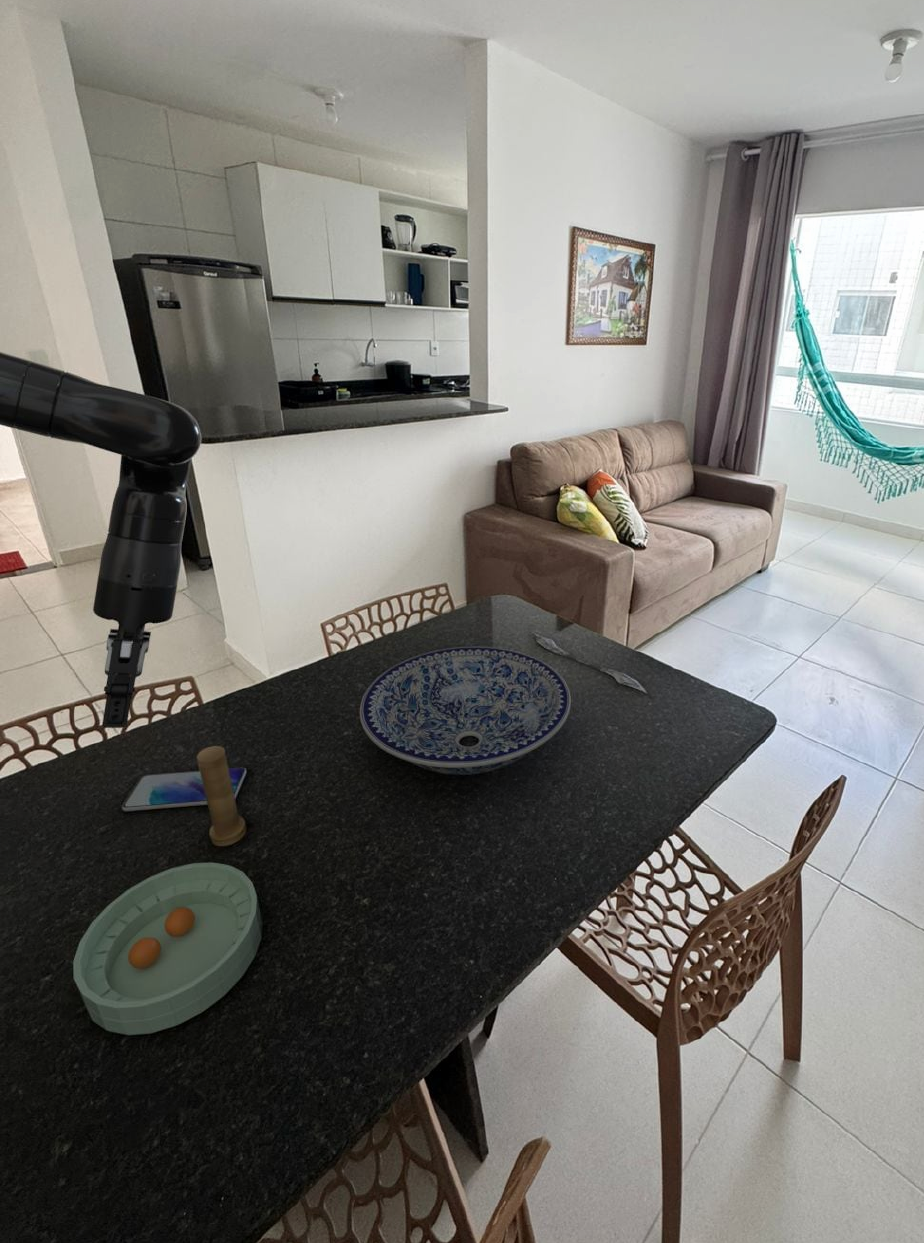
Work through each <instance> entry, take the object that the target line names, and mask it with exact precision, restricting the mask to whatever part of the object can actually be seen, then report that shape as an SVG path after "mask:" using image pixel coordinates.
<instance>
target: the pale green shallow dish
mask: <svg viewBox="0 0 924 1243" xmlns="http://www.w3.org/2000/svg"><path fill="white" fill-rule="evenodd" d="M180 907H187V908H189V909H191V910H192V911H193V913H194V915H195V921H194V924H193V926H192V928H191V929H190V930H189V931H188V932H187V933H185V934H184V935H181V936H171V935H169V934H168V933H167V932H166V930H165V920H166V918H167V916H168V915H169V914H170V913H171V912H172V911H173V910H175V909H177V908H180ZM262 932H263V919H262V914H261V909H260V903H259V899H258V894H257V891H256V889H255V886H254V882H253V881H251V879H250V878H249V876H247V875H246V873H245V872H244V871H242V870H240V869H238V868H236V867H234V866H232V865H229V864H223V863H219V862H193V863H188V864H184V865H180V866H175V867H171V868H169V869H166V870H164V871H161V872H159V873H157V874H154V875H151V876H150V877H147V878H146V879H143V880H142V881H141V882H139V883H137V884H135V885H133V886H132V887H130V888H128V889H127V890H125V891H124V892H123V893H122V894H121V895H119V896H118V897H117V898H115V899H114V900H112V902H110V903H109V904H108V905H107V906H106V907H105V908H104V909H103V910H102V911H101V912H100V913H99V914H98V915H97V916H96V918H95V919H94V920H93V921H92V922H91V923H90V925H89V926H88V927H87V929H86V931H85V933H84V934H83V936H82V937H81V939H80V941H79V942H78V946H77V949H76V951H75V955H74V958H73V961H72V965H73V966H72V970H73V981H74V983H75V986H76V988H77V990H78V993H79V996H80V997H81V1000H82V1002H83V1003H82V1004H83V1005H84V1007H85V1010H86V1011H87V1013H88V1015H89V1017H90V1019H91V1020H92V1022H93V1023H94V1024H96V1025H98V1026H99V1027H101V1028H102V1029H103V1030H105V1031H108V1032H111V1033H117V1034H120V1035H126V1036H134V1035H135V1036H136V1035H148V1034H153V1033H157V1032H160V1031H163V1030H166V1029H171V1028H173V1027H176V1026H179V1025H181V1024H183V1023H185V1022H186V1021H188V1020H190V1019H192V1018H194V1017H196V1016H198V1015H200V1014H202V1013H204V1012H205V1011H206V1010H207V1009H209V1008H210V1007H212V1006H213V1005H214V1004H216V1003H217V1002H218V1001H219V1000H221V999H222V998H223V997H225V996H226V994H228V993H229V991H230V990H231V989H232V988H233V987H234V986H235V985H236V984H237V983H238V982H239V981H240V979H241V978H243V976H244V974H245V973H246V972H247V970H248V969H249V967H250V965H251V964H252V962H253V960H254V959H255V957H256V956H257V952H258V949H259V947H260V944H261V941H262V936H263V935H262ZM146 937H153V938H155V939H157V940H158V941H159V943H160V945H161V952H160V955H159V957H158V958H157V960H156V961H155V962H154V963H153V964H152V965H150V966H148V967H146V968H142V969H138V968H134V967H133V966H131V965H130V963H129V960H128V954H129V951H130V949H131V947H132V946H133V945H134V944H135V943H136V942H137V941H139V940H140V939H142V938H146Z"/></svg>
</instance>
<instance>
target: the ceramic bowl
mask: <svg viewBox="0 0 924 1243" xmlns="http://www.w3.org/2000/svg"><path fill="white" fill-rule="evenodd" d="M571 703H572V700H571V692H570V689H569V686H568V685H567V682H566V681H565V679H564V677H562V675H561V674H560V673H559V672H558V671H556V669H554V668H553V667H552V666H550V665H549V664H547V663H546V662H544V661H542V660H540V659H538V658H536V657H534V656H531V655H530V654H526V653H523V652H519V651H516V650H511V649H506V648H501V647H491V646H458V647H450V648H444V649H437V650H434V651H433V650H432V651H430V652H426V653H422V654H418V655H416V656H413V657H411V658H408V659H406V660H403V661H401V662H400V663H397V664H395V665H394V666H392V667H390V668H389V669H386V670H385V671H384V672H383V673H382V674H380V675H379V676H378V677H377V678H375V679H374V680H373V682H371V684H370V685H369V686H368V688H367V689H366V690H365V692H364V694H363V696H362V698H361V702H360V706H359V720H360V723H361V726H362V728H363V730H364V733H365V734H366V736H367V737H368V738H369V739H370V740H371V741H372V742H373V743H374V745H376V746H377V747H378V748H379V749H381V750H383V751H384V752H386V753H388V754H390V755H392V756H393V757H396V758H398V759H401V760H404V761H406V762H409V763H410V764H412V765H414V766H416V767H419V768H421V769H424V770H427V771H430V772H433V773H437V774H446V775H453V776H454V775H455V776H456V775H457V776H459V775H460V776H466V775H467V776H469V775H476V774H482V773H488V772H491V771H496V770H498V769H501V768H504V767H506V766H510V764H513V763H514V762H517V761H518V760H520V759H521V758H523V757H525V756H526V755H527V754H529V753H530V752H532V751H533V750H536V749H538V748H539V747H540V746H543V745H544V744H545V743H547V742H548V741H549V740H551V738H553V737H554V736H555V735H556V734H557V733H558V732H559V731H560V730H561V728H562V727H563V726H564V724H565V722H567V719H568V717H569V714H570V709H571V705H572V704H571ZM465 737H475V738H477V739H478V742H477V744H475V745H472V746H464V745H462V744H460V741H461V740H462V739H463V738H465Z"/></svg>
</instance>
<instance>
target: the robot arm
mask: <svg viewBox="0 0 924 1243" xmlns="http://www.w3.org/2000/svg"><path fill="white" fill-rule="evenodd" d="M0 426H4V427H7V428H11V429H15V430H19V431H23V432H26V433H31V434H34V435H39V436H43V437H47V438H50V439H55V440H59V441H65V442H71V443H78V444H83V445H84V444H85V445H88V446H91V447H94V448H98V449H101V450H103V451H107V452H110V453H113V454H117V455H119V456H120V466H119V478H118V480H119V481H118V485H117V488H116V491H115V494H114V497H113V502H112V506H111V510H110V516H109V524H108V530H107V532H108V533H107V536H106V539H105V542H104V545H103V548H102V552H101V557H100V562H99V570H98V574H97V582H96V589H95V595H94V602H93V608H92V610H93V613H94V614H95V615H96V616H97V617H99V618H101V619H104V620H107V621H115V622H117V624H118V628H110V630H109V634H108V635H107V640H106V651H107V655H106V659H105V665H104V674H105V675H106V676H107V678H106V683H105V685H104V687H103V692H104V695H106V697H105V705H104V711H103V717H102V723H101V724H102V726H103V727H104V728H106V729H123V728H125V727H126V726H127V725H128V721H129V715H130V708H131V701H132V699H133V695H134V693H136V687H135V685H136V684H135V683H136V679H137V677H140V676H142V673H143V667H144V664H145V663H144V662H145V656H146V653H148V652H149V648H150V643H151V642H150V640H151V635H152V631H148V630H146V631H145V628H146V625H147V624H161V623H162V624H163V623H165V622H168V621H169V620H171V618H172V617H173V613H174V607H175V601H176V595H177V590H178V589H177V588H178V584H179V576H180V570H181V566H182V542H183V536H184V532H185V525H186V518H187V507H188V506H187V505H188V504H187V498H186V491H187V490H186V489H187V484H188V480H189V474H190V469H191V464H192V459H193V458H194V456H195V455H196V454H197V453H198V451H199V449H200V448H201V445H202V430H201V428H200V425H199V423H198V421H197V420H196V418H195V417H194V416H193V415H192V413H191V412H189V411H188V410H187V409H186V408H184V407H182V406H180V405H179V404H177V403H174V402H171V401H168V400H165V399H161V398H158V397H154V396H150V395H146V394H143V393H138V392H136V391H131V390H126V389H123V388H120V387H119V388H118V387H114V386H110V385H105V384H101V383H97V382H95V381H92V380H90V379H87V378H84V377H82V376H80V375H78V374H74V373H71V372H69V371H65V370H62V369H59V368H55V367H52V366H50V365H46V364H43V363H40V362H36V361H32V360H29V359H26V358H22V357H20V356H17V355H13V354H10V353H6V352H3V351H0Z"/></svg>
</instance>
